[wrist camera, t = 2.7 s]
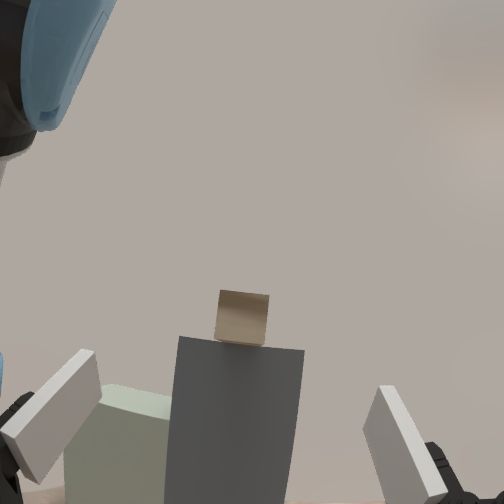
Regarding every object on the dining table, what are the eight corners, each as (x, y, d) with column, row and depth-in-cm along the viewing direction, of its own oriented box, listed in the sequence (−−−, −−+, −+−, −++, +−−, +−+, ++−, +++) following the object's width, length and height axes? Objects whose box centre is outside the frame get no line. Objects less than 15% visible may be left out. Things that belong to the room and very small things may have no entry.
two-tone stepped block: (271, 562, 25) (304, 350, 34) (67, 515, 25) (74, 315, 34) (265, 512, 40) (287, 350, 49) (108, 482, 40) (120, 327, 50)
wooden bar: (264, 344, 24) (269, 295, 26) (213, 338, 25) (220, 289, 26) (256, 347, 47) (259, 322, 48) (230, 344, 47) (233, 319, 49)
